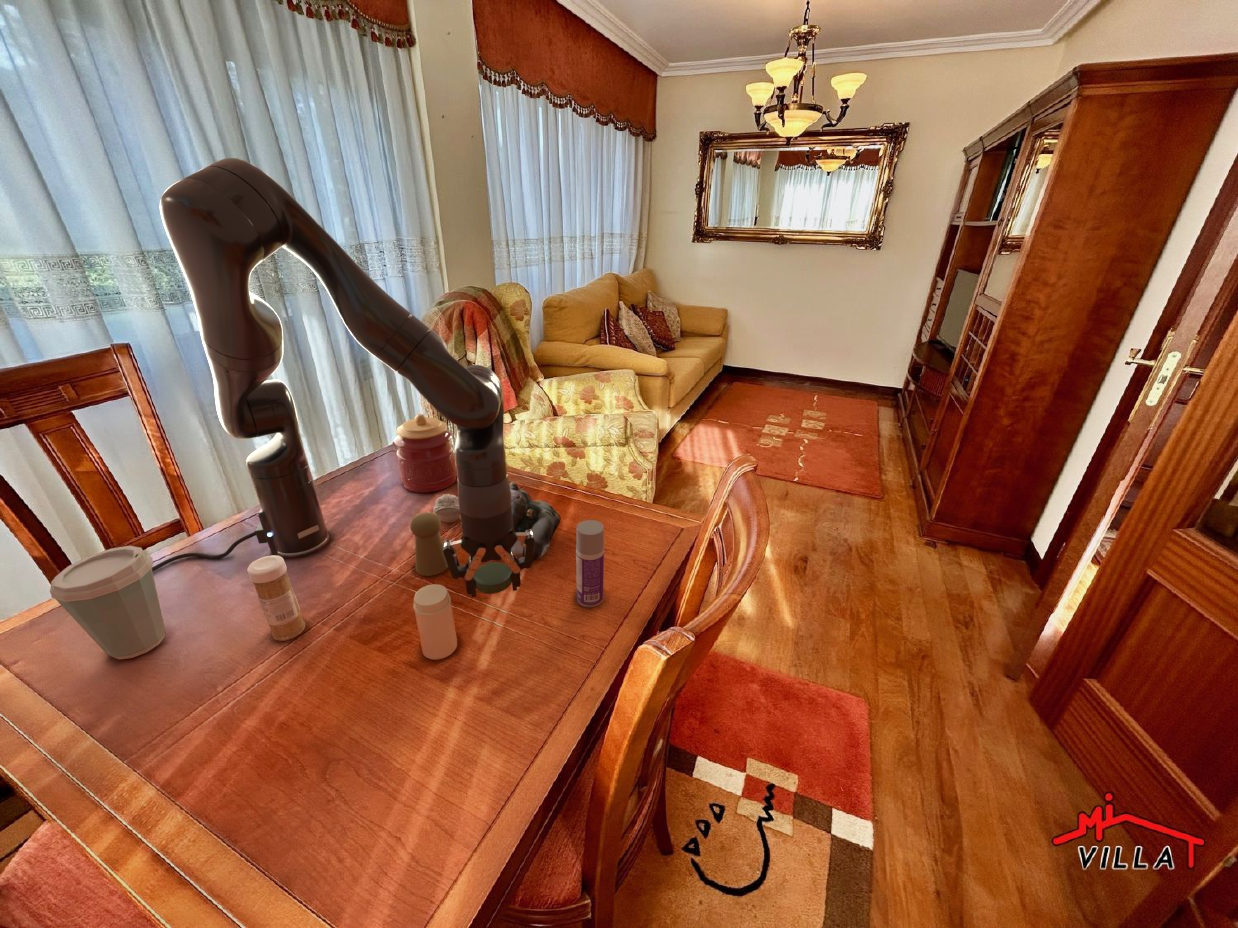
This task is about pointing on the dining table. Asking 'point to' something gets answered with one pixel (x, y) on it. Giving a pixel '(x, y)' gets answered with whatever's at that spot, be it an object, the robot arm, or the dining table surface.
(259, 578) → the sprinkles bottle
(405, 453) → the kitchen canister
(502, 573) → the lid
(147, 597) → the disposable coffee cup
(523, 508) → the lucky cat figurine
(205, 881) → the dining table surface
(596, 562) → the container
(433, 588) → the jar
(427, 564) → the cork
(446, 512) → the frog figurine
